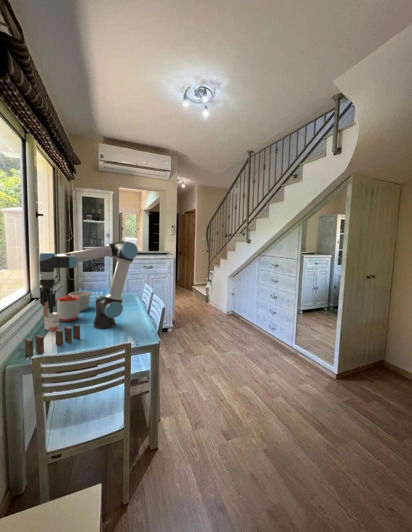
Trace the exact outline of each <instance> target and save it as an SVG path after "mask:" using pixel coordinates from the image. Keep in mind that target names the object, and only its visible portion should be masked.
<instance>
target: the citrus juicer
mask: <svg viewBox="0 0 412 532" xmlns="http://www.w3.org/2000/svg"><path fill="white" fill-rule="evenodd" d="M56 303H57V304H56V305H57V307H56V309H57V311H56V312H57V313H59V321H61V322H74V321H76V320H77V319H78V317H79V314H80V311H79V297H77V296H74V297H73V298H72V297H71V296H70V295H68V294H67V295H66V296H61V297H58V298H56ZM73 320H74V321H73Z"/></svg>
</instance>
